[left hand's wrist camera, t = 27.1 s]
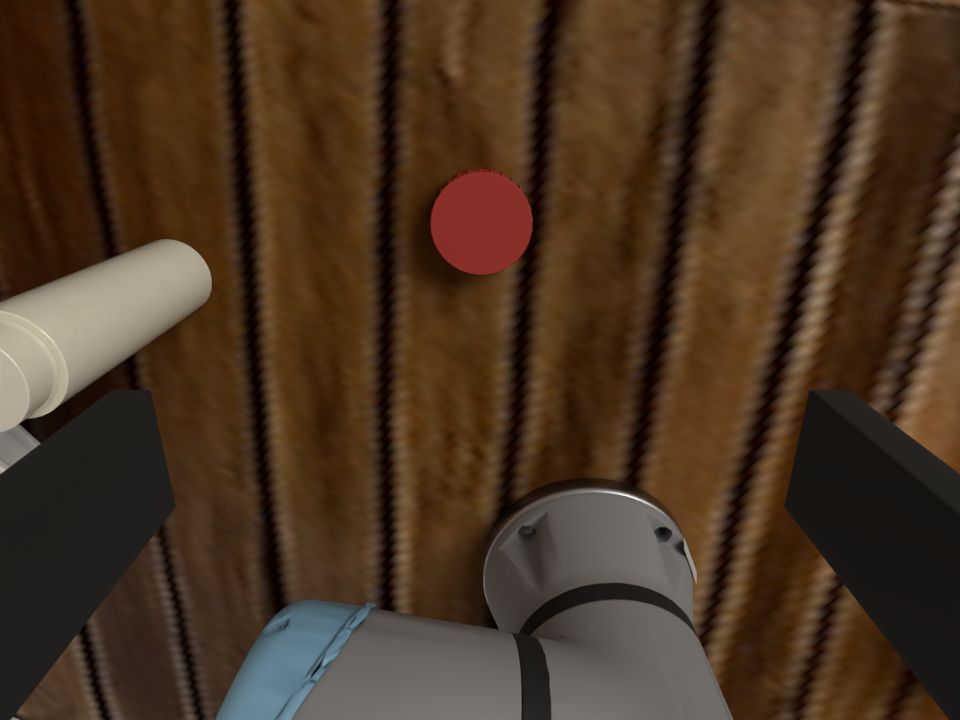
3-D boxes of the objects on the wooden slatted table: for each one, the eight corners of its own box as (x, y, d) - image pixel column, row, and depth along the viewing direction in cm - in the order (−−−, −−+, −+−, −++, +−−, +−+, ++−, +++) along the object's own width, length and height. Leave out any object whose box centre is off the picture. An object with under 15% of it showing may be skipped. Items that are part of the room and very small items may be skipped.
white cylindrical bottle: (144, 226, 38) (-88, 304, 22) (221, 259, 38) (48, 357, 23) (126, 295, 39) (-102, 412, 24) (200, 325, 40) (25, 458, 25)
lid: (442, 275, 39) (440, 284, 37) (422, 178, 37) (418, 181, 35) (537, 258, 38) (540, 266, 36) (522, 158, 36) (524, 161, 34)
